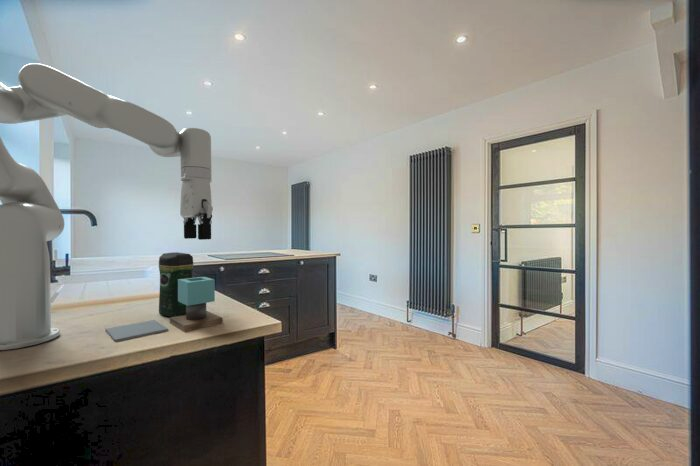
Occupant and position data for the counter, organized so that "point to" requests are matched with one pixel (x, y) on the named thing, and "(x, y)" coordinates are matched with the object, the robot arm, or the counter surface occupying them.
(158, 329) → the mat
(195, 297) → the teal boxy piece
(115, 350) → the counter surface
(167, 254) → the coffee jar
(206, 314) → the peg stand
